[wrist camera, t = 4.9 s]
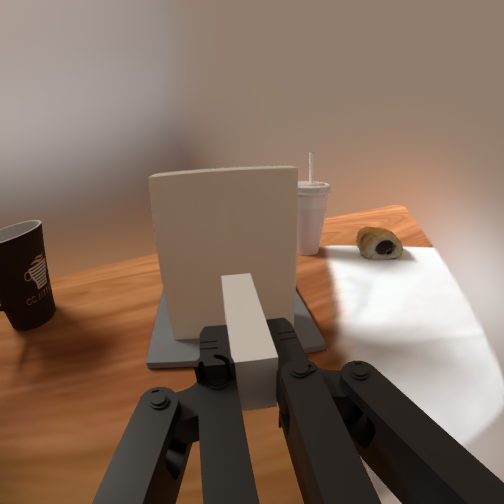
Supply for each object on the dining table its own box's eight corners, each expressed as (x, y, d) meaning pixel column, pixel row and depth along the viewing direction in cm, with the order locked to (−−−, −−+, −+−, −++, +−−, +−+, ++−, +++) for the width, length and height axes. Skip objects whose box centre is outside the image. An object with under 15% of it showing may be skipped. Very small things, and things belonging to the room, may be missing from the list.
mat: (148, 368, 20) (146, 362, 20) (171, 264, 38) (170, 260, 38) (325, 349, 22) (326, 344, 22) (273, 256, 40) (273, 252, 40)
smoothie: (331, 259, 39) (336, 154, 33) (284, 259, 39) (284, 152, 34) (323, 243, 45) (326, 152, 39) (282, 243, 45) (282, 151, 40)
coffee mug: (45, 291, 31) (26, 218, 27) (76, 308, 28) (53, 222, 24) (-21, 330, 21) (-50, 251, 17) (-2, 360, 18) (-43, 264, 14)
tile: (173, 339, 23) (148, 177, 18) (176, 322, 25) (154, 173, 20) (293, 328, 24) (297, 167, 19) (286, 312, 26) (288, 165, 21)
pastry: (347, 239, 47) (349, 217, 45) (384, 240, 46) (387, 218, 45) (363, 262, 38) (366, 235, 37) (405, 262, 37) (410, 236, 36)
